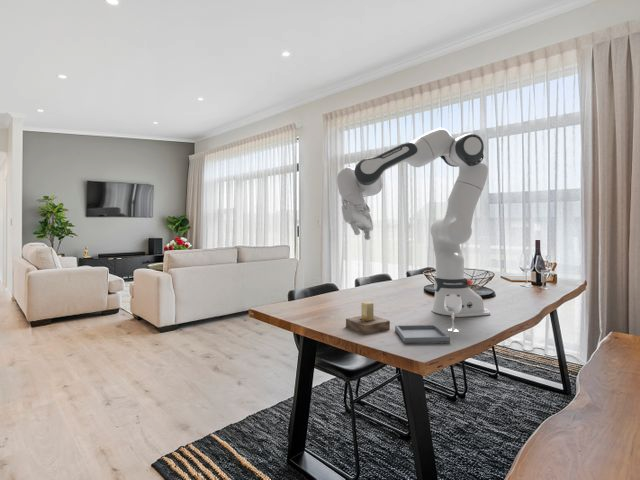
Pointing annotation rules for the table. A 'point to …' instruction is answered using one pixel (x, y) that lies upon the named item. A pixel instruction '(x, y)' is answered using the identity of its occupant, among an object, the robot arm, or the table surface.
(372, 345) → the table surface
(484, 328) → the table surface
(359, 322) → the block
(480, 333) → the table surface
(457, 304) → the wineglass
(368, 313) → the yellow rectangular block
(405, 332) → the tray
